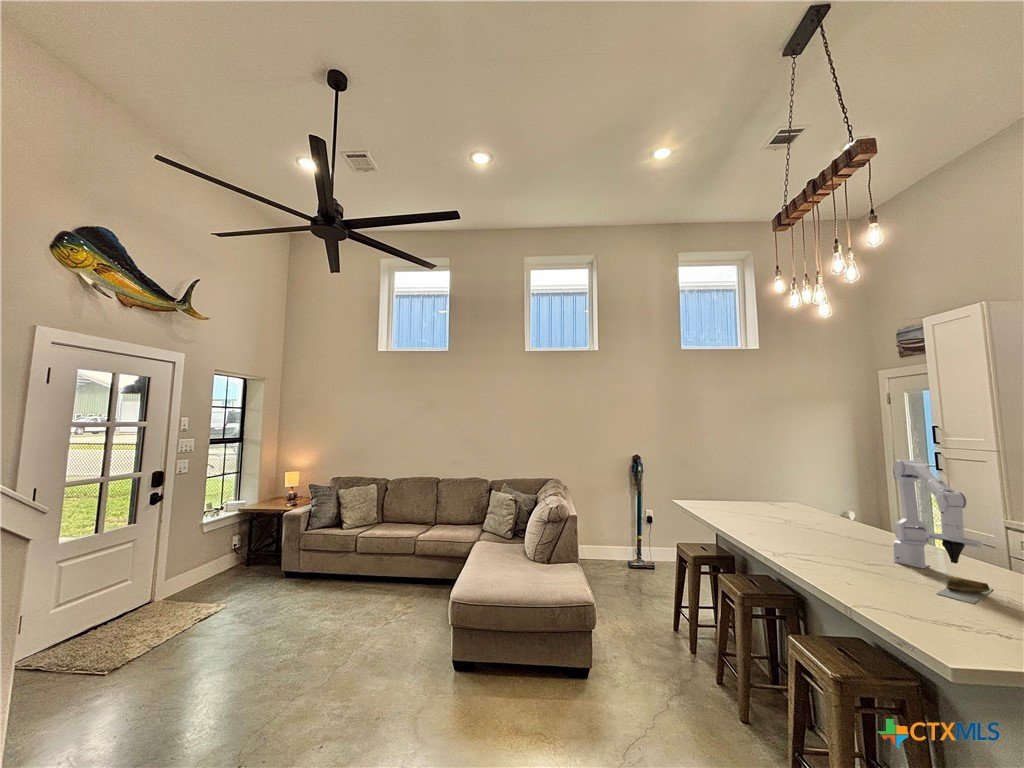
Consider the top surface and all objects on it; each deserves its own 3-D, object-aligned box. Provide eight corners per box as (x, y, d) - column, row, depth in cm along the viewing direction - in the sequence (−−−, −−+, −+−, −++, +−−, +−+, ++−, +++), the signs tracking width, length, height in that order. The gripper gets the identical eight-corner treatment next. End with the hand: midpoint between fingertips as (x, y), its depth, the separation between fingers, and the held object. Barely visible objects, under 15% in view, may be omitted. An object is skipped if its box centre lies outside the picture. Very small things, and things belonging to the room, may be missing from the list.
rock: (959, 573, 158) (968, 564, 152) (983, 596, 152) (993, 588, 145) (930, 584, 160) (937, 576, 153) (952, 607, 154) (960, 600, 147)
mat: (936, 594, 148) (936, 593, 148) (958, 581, 161) (958, 580, 161) (973, 604, 141) (973, 603, 141) (993, 590, 153) (993, 589, 153)
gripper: (922, 521, 161) (924, 558, 160) (977, 530, 148) (980, 570, 147) (928, 519, 164) (930, 555, 163) (983, 528, 152) (985, 567, 151)
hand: (954, 562), depth 156 cm, fingers closed
